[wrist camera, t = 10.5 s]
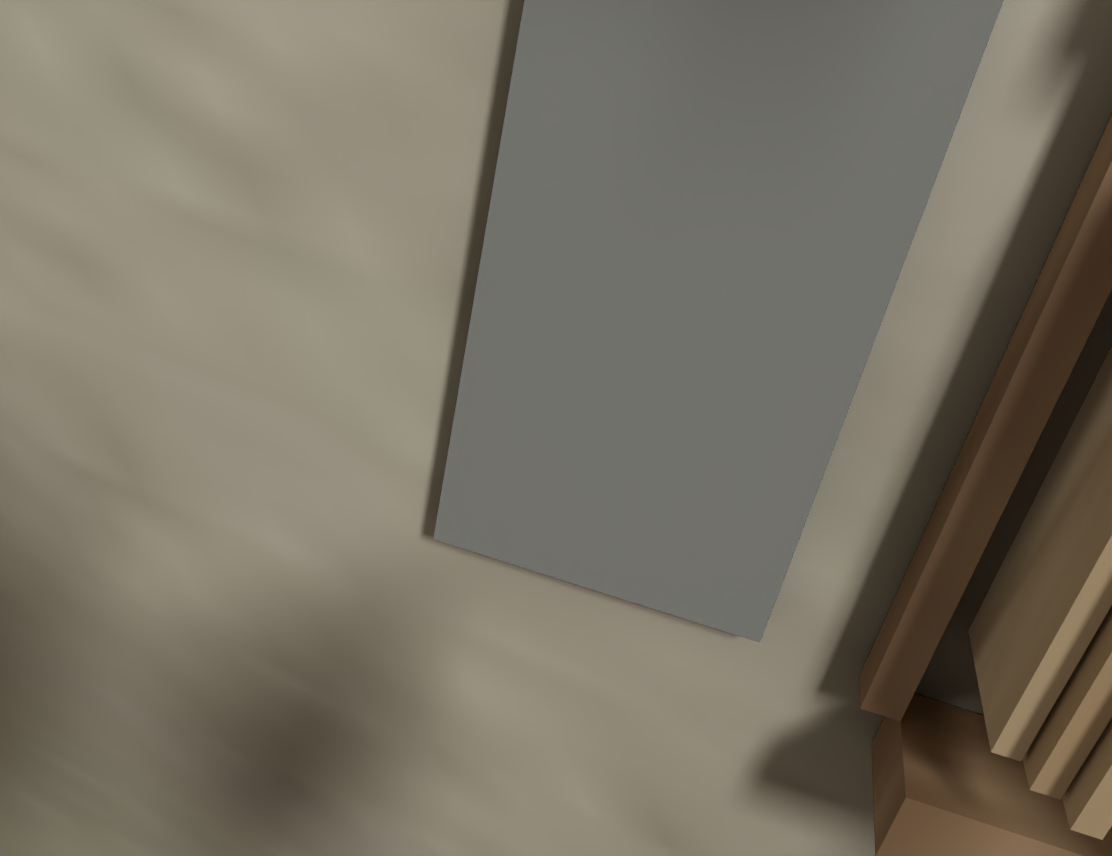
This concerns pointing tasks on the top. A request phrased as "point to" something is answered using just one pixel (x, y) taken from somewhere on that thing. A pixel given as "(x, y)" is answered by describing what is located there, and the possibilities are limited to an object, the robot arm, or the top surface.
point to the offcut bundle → (1058, 627)
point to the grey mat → (691, 281)
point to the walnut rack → (948, 563)
